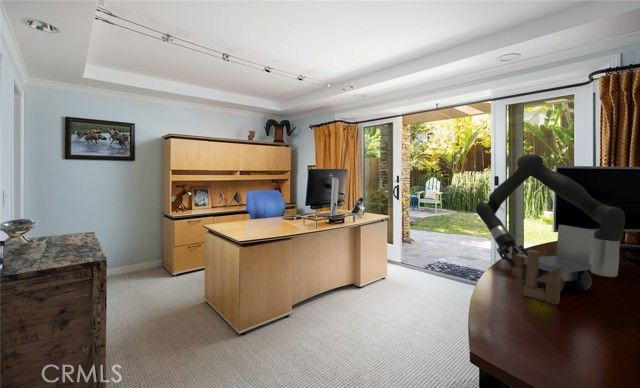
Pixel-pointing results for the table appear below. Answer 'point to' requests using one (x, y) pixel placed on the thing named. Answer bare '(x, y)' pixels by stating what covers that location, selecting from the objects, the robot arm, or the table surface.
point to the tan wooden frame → (550, 278)
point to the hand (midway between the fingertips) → (521, 266)
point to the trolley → (569, 258)
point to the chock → (518, 265)
